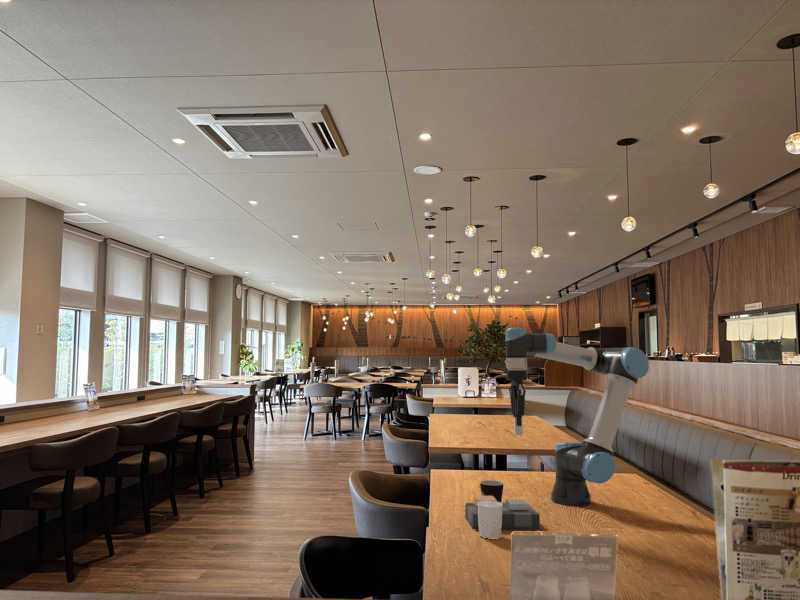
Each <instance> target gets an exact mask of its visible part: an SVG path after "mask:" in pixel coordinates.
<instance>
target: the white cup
mask: <svg viewBox="0 0 800 600" xmlns="http://www.w3.org/2000/svg"><path fill="white" fill-rule="evenodd" d="M502 503H503V502H501V503H500V502H496V501H479V502H478V503H477V504H478V527H479V530H478V536H479V535H480V536H481V537H485V538H499V537H502V530H501V528H502V511H503V504H502ZM480 536H479V537H480ZM481 537H480V538H481ZM499 539H500V538H499Z"/></svg>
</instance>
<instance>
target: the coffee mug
mask: <svg viewBox="0 0 800 600" xmlns="http://www.w3.org/2000/svg"><path fill="white" fill-rule="evenodd" d="M479 485H480V496H493V497H494V498H495V499H496V500H497V502H500V503H503V501H502V500H503V492H504V482H503V481H499V480H493V479H492V480H491V479H486V480H485V479H484V480H480V481H479Z"/></svg>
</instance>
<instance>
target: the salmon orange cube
mask: <svg viewBox="0 0 800 600" xmlns="http://www.w3.org/2000/svg"><path fill="white" fill-rule="evenodd" d="M479 501H496V502H497V500H496V499H495V498H494V497H493V496H481V495H473V503H476V505H477V506H478V504H477V503H478V502H479Z"/></svg>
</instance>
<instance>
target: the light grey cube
mask: <svg viewBox="0 0 800 600" xmlns="http://www.w3.org/2000/svg"><path fill="white" fill-rule="evenodd" d="M505 503H506V506H507V507H508V508H509V509H510V510H511V511H525V510H529V506H530V504H529V502H528V501H526V500H525V499H517V498H515V499H514V498H513V499H509V498H507V499H505Z"/></svg>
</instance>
